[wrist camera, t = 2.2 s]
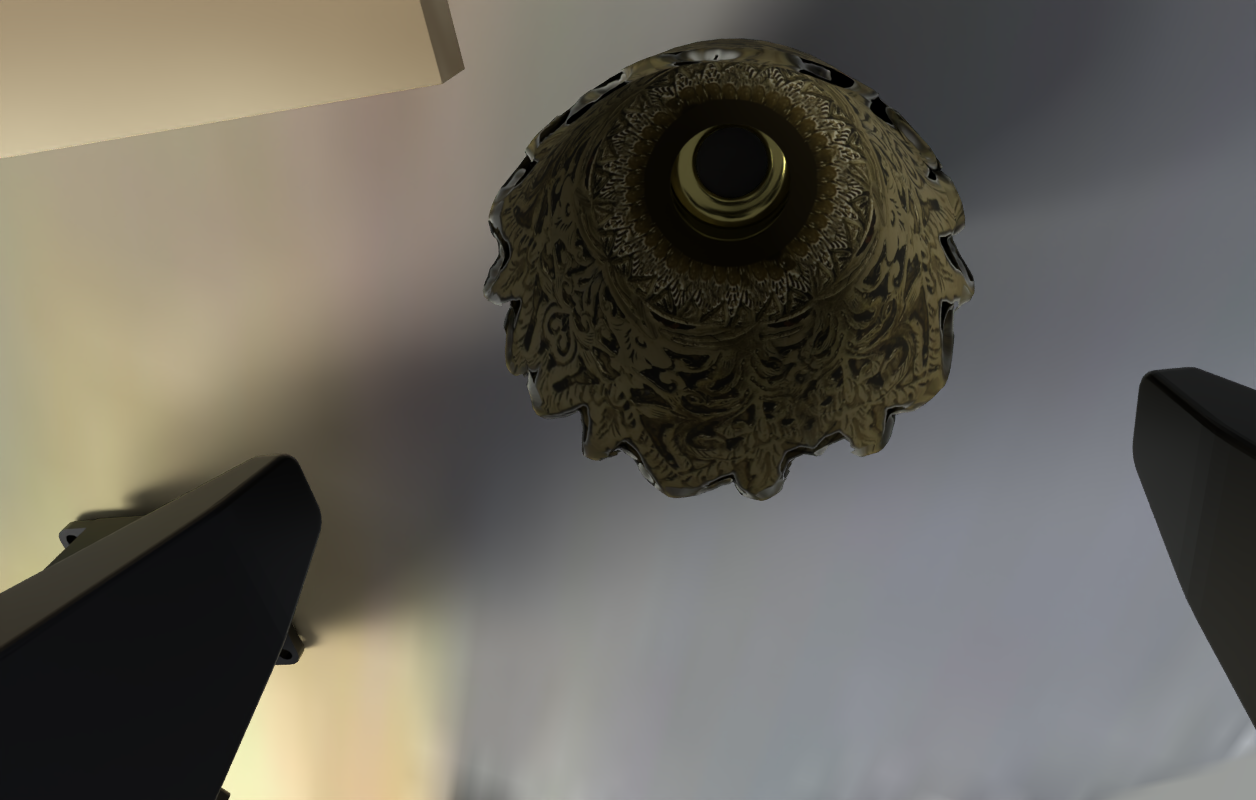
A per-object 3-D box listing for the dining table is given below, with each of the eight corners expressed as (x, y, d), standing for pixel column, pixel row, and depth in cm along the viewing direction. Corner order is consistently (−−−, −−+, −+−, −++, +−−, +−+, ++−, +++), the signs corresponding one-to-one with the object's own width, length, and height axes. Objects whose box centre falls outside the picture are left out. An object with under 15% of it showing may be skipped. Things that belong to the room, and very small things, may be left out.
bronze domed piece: (814, -90, 17) (852, -67, 10) (948, 224, 20) (1045, 401, 13) (513, 98, 20) (386, 214, 13) (669, 352, 23) (632, 554, 16)
